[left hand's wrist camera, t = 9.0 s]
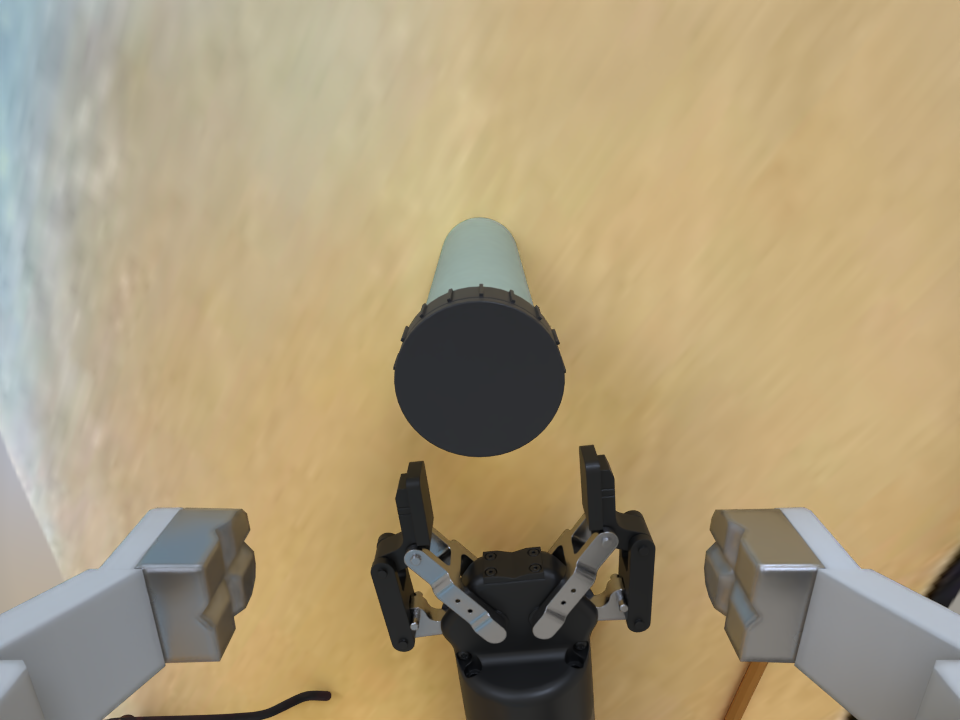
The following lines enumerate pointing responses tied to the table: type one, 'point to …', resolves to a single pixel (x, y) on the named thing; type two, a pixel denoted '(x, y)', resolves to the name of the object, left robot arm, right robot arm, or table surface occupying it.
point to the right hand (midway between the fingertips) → (500, 461)
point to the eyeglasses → (244, 718)
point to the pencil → (745, 690)
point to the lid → (479, 372)
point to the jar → (479, 260)
